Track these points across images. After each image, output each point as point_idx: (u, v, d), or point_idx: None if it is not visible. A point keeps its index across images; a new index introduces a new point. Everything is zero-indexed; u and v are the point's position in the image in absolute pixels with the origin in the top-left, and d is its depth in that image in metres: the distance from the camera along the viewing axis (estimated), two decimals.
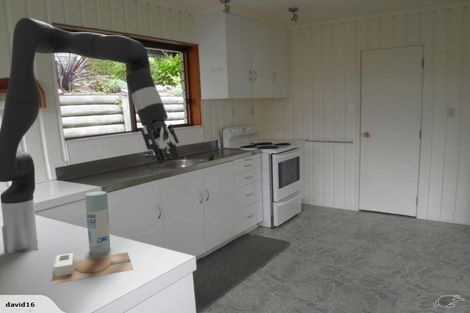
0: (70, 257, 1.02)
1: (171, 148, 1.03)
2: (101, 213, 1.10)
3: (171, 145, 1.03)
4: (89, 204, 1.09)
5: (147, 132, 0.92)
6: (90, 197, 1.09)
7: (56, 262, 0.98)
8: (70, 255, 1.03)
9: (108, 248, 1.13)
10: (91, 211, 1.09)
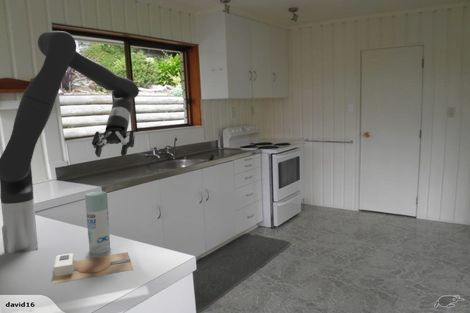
0: (70, 257, 1.02)
1: (100, 147, 1.25)
2: (101, 213, 1.10)
3: (100, 146, 1.26)
4: (89, 204, 1.09)
5: (134, 136, 1.29)
6: (90, 197, 1.09)
7: (56, 262, 0.98)
8: (70, 255, 1.03)
9: (108, 248, 1.13)
10: (90, 211, 1.09)
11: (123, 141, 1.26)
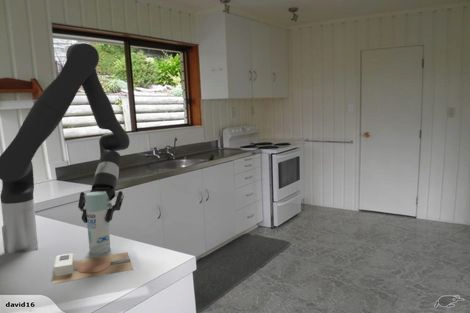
0: (70, 257, 1.02)
1: None
2: (101, 213, 1.10)
3: None
4: (89, 204, 1.09)
5: (122, 198, 1.17)
6: (90, 197, 1.09)
7: (56, 262, 0.98)
8: (70, 255, 1.03)
9: (108, 248, 1.13)
10: (90, 211, 1.09)
11: (109, 204, 1.14)
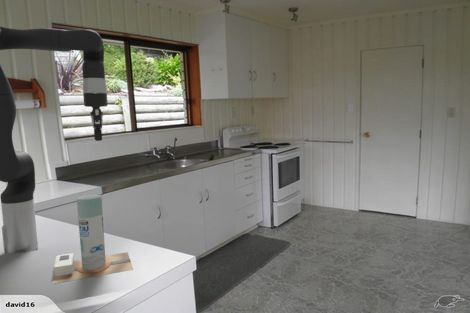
0: (70, 257, 1.02)
1: None
2: (94, 220, 0.98)
3: None
4: (81, 209, 0.97)
5: (98, 114, 1.16)
6: (82, 201, 0.96)
7: (56, 262, 0.98)
8: (70, 255, 1.03)
9: (103, 259, 1.01)
10: (83, 217, 0.97)
11: (93, 125, 1.18)
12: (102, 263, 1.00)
